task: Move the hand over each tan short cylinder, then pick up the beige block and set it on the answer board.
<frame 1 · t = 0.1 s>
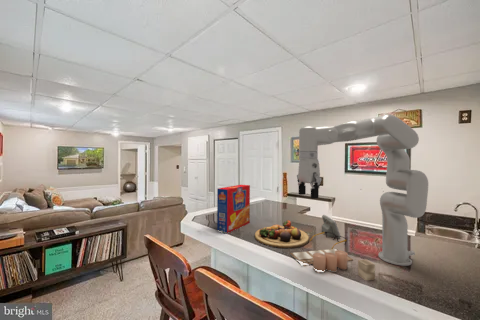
hand: (307, 196, 89), 31 cm above the counter, fingers open, 9 cm apart
pasta box: (234, 227, 145), on the counter
tan short cylinder c: (319, 269, 89), on the counter
wooden plate with food: (281, 238, 126), on the counter
tan short cylinder b: (330, 269, 89), on the counter
eyeglasses: (328, 244, 118), on the counter
answer board: (320, 257, 100), on the counter
tan short cylinder a: (341, 266, 91), on the counter
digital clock: (330, 234, 132), on the counter
beige block: (366, 277, 83), on the counter
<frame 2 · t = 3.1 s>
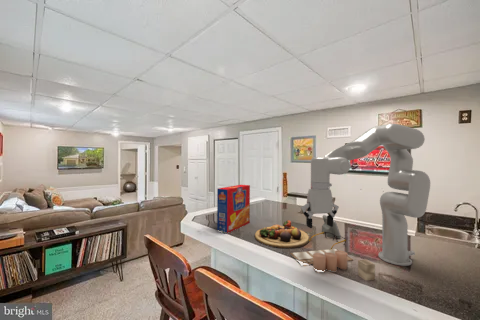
hand: (319, 226, 89), 18 cm above the counter, fingers open, 9 cm apart
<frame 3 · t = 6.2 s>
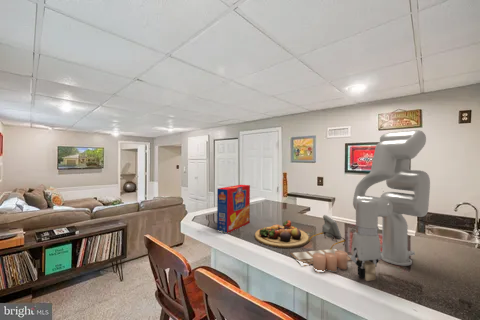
hand: (366, 275, 83), 1 cm above the counter, fingers closed on beige block, 3 cm apart
wooden plate with food: (281, 238, 126), on the counter, touching eyeglasses
eyeglasses: (327, 244, 117), on the counter, touching wooden plate with food
beige block: (366, 277, 83), on the counter, touching gripper
everything else where it was.
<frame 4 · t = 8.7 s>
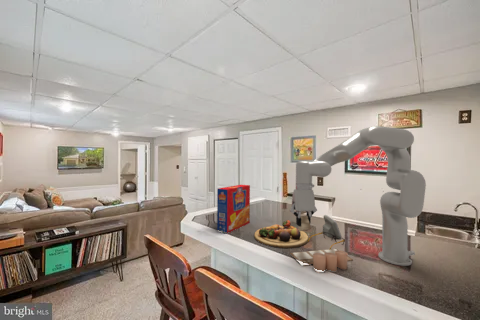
hand: (303, 225, 99), 16 cm above the counter, fingers closed on beige block, 3 cm apart
wooden plate with food: (280, 238, 126), on the counter
eyeglasses: (326, 244, 117), on the counter
beige block: (305, 230, 98), point 14 cm above the counter, tilted 31°, touching gripper
everything else where it was.
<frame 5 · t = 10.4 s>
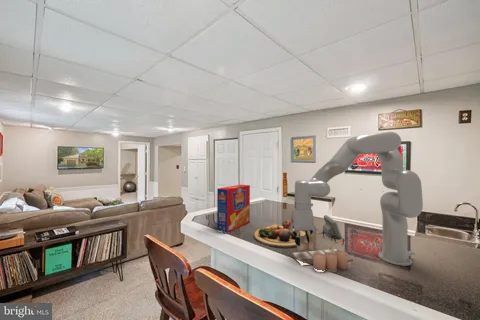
hand: (302, 244, 100), 6 cm above the counter, fingers closed on beige block, 4 cm apart
beige block: (303, 250, 98), point 4 cm above the counter, tilted 32°, touching gripper
everything else where it was.
when the fingers open (3 cm above the counter, at t = 11.4 s): beige block drops 1 cm, resting on answer board.
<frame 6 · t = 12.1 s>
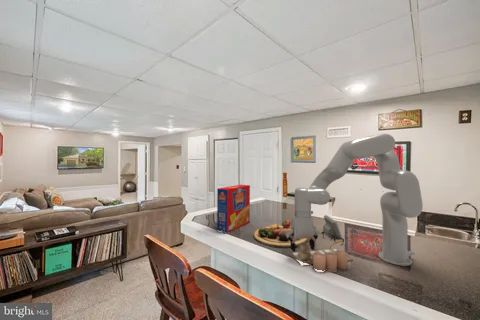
hand: (302, 249, 100), 4 cm above the counter, fingers open, 9 cm apart
beige block: (304, 257, 98), point 1 cm above the counter, touching answer board
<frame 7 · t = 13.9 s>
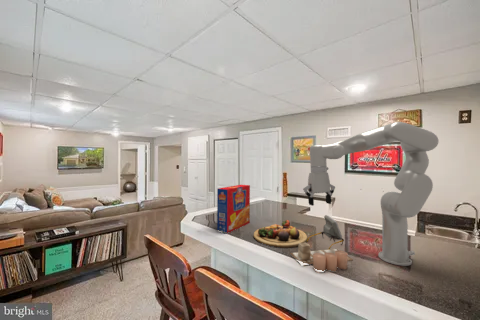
hand: (320, 204, 104), 25 cm above the counter, fingers open, 9 cm apart
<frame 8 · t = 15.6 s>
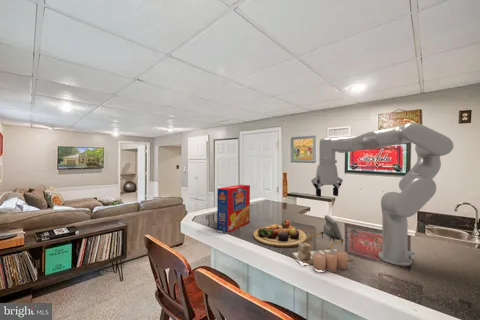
hand: (327, 196, 106), 28 cm above the counter, fingers open, 9 cm apart
at the end: beige block 1.9 cm from the target spot on the answer board, point 1.0 cm above the answer board's base; beige block tilted 0°; the gripper is holding nothing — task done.
